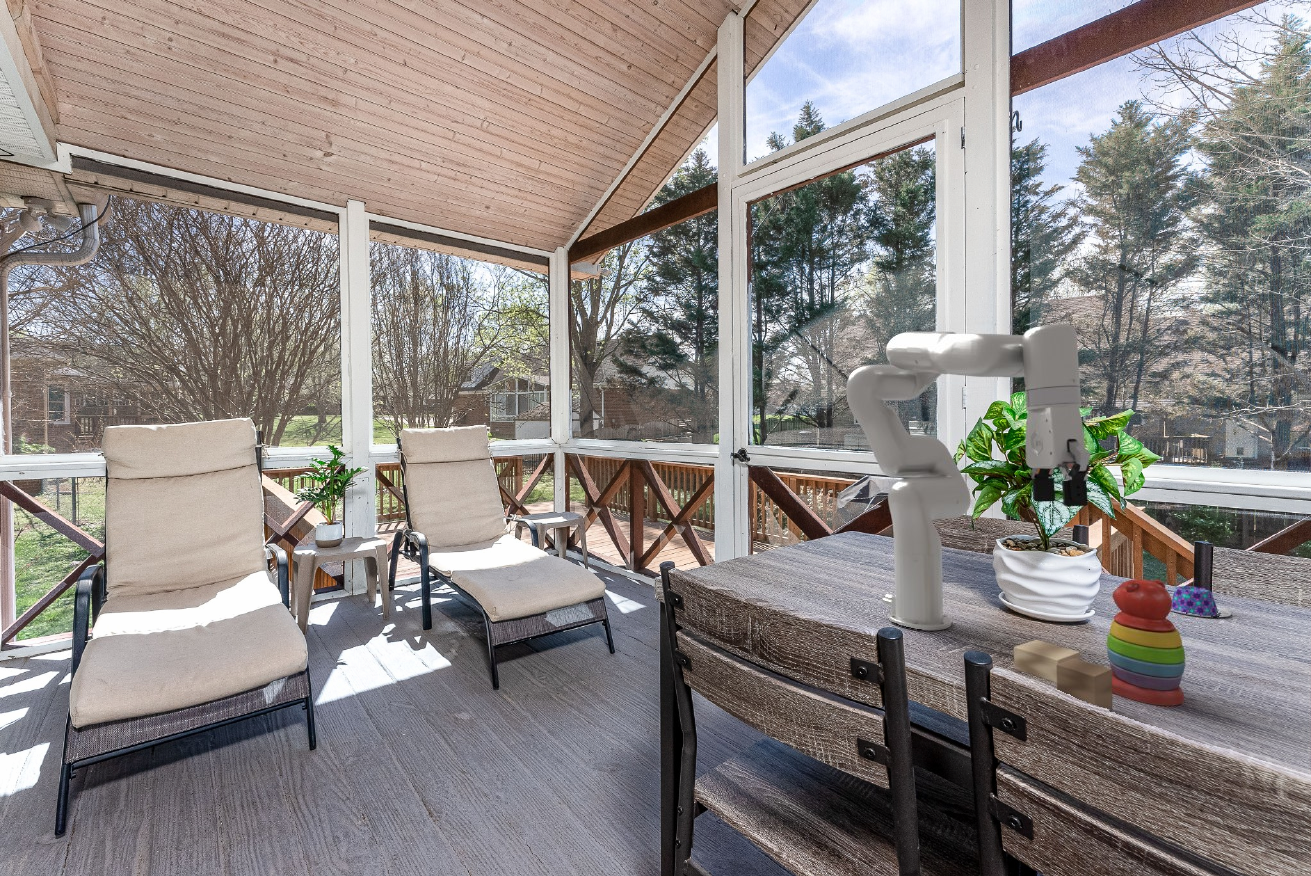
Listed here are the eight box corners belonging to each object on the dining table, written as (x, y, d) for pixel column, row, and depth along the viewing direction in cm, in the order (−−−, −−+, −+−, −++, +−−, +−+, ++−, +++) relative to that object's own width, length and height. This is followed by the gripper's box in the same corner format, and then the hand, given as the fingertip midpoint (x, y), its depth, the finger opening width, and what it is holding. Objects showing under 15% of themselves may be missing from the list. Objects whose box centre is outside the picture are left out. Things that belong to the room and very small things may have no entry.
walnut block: (1057, 704, 87) (1056, 664, 87) (1074, 696, 90) (1074, 658, 90) (1095, 717, 83) (1094, 676, 83) (1112, 709, 85) (1111, 669, 85)
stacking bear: (1148, 677, 96) (1146, 570, 96) (1208, 705, 86) (1206, 586, 86) (1084, 679, 95) (1083, 572, 95) (1138, 708, 85) (1136, 588, 85)
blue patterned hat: (1147, 608, 133) (1147, 586, 133) (1174, 601, 138) (1174, 579, 138) (1215, 623, 122) (1214, 598, 122) (1242, 614, 127) (1241, 591, 127)
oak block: (1014, 669, 100) (1013, 646, 100) (1036, 661, 104) (1036, 639, 104) (1057, 684, 94) (1057, 660, 94) (1080, 675, 98) (1080, 651, 98)
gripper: (1005, 406, 105) (1011, 500, 104) (1054, 396, 88) (1061, 508, 87) (1050, 404, 103) (1056, 499, 103) (1109, 393, 86) (1117, 507, 86)
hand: (1059, 503), depth 95 cm, fingers open, 9 cm apart
